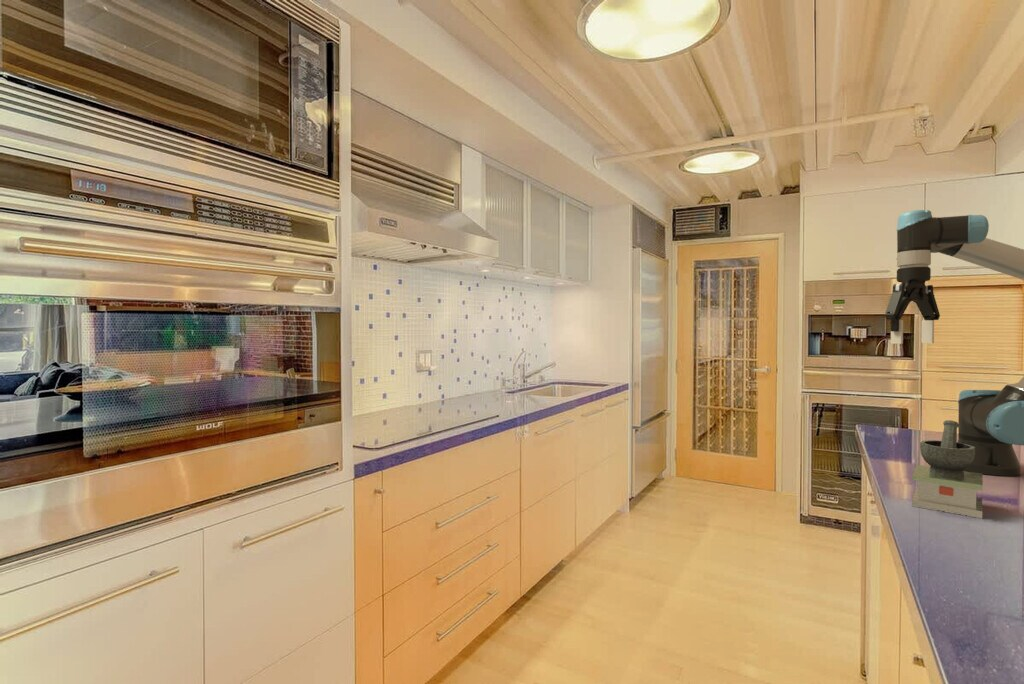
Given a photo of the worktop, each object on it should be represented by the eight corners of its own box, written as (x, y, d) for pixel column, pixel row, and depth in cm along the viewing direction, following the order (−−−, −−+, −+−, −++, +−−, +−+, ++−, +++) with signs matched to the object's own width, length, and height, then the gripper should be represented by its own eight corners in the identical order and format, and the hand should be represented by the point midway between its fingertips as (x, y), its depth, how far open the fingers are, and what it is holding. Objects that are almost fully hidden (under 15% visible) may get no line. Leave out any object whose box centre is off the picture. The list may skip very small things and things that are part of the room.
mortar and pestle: (970, 483, 113) (971, 427, 113) (916, 474, 120) (917, 422, 120) (977, 473, 121) (978, 421, 120) (926, 465, 127) (927, 416, 127)
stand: (916, 493, 128) (916, 464, 128) (981, 504, 120) (982, 473, 120) (911, 506, 120) (912, 474, 119) (982, 518, 112) (982, 485, 111)
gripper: (926, 270, 154) (925, 342, 154) (870, 266, 144) (869, 343, 144) (956, 267, 147) (955, 343, 147) (898, 263, 137) (897, 344, 138)
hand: (912, 343), depth 146 cm, fingers open, 13 cm apart
